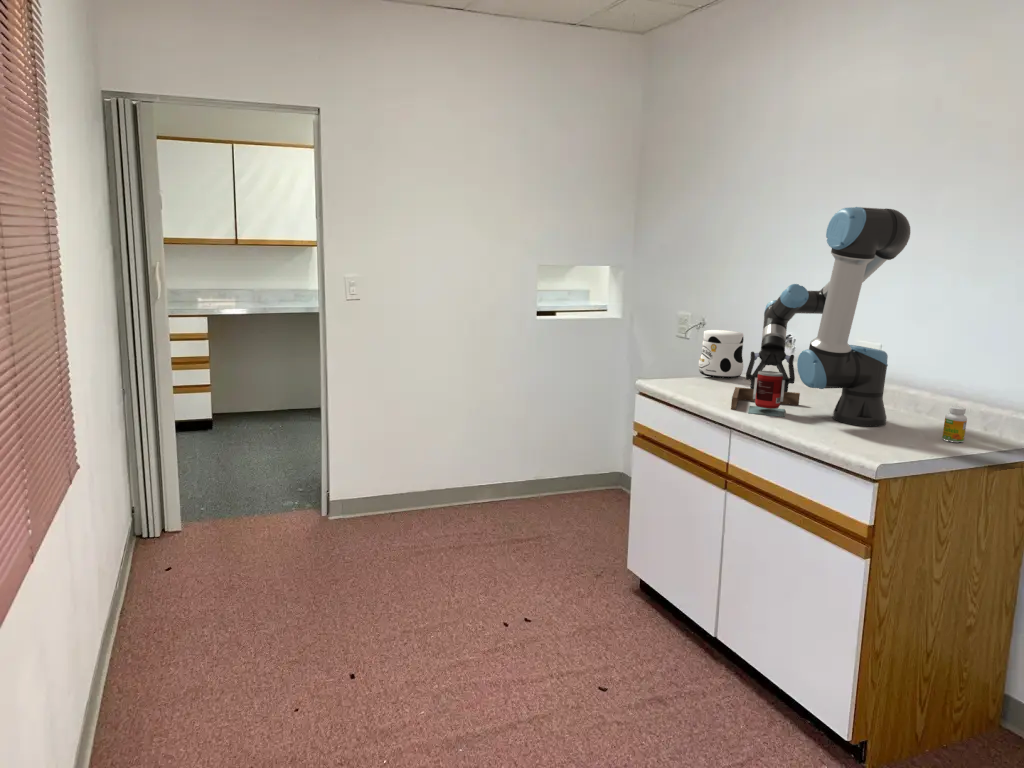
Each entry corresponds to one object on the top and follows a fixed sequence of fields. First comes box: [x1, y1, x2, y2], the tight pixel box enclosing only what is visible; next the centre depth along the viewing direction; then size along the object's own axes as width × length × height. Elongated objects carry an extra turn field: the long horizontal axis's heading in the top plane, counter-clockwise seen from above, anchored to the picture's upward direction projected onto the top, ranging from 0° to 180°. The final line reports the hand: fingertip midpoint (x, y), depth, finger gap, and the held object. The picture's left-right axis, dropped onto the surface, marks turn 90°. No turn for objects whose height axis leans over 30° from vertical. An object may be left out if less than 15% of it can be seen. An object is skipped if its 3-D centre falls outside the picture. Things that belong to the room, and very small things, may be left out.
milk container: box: [698, 329, 744, 380], centre depth 304 cm, size 17×17×18 cm
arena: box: [730, 386, 801, 418], centre depth 251 cm, size 21×22×4 cm
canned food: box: [754, 370, 783, 409], centre depth 245 cm, size 8×8×11 cm
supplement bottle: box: [941, 405, 968, 443], centre depth 216 cm, size 5×5×10 cm
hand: (768, 398), depth 242 cm, fingers closed on canned food, 8 cm apart
